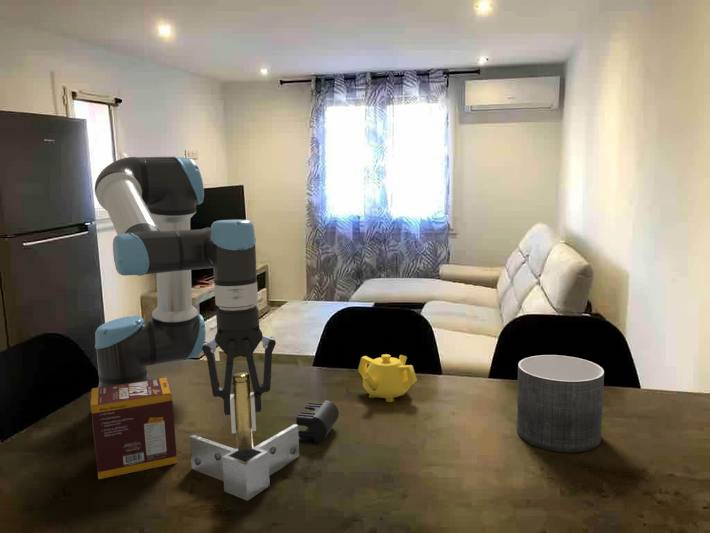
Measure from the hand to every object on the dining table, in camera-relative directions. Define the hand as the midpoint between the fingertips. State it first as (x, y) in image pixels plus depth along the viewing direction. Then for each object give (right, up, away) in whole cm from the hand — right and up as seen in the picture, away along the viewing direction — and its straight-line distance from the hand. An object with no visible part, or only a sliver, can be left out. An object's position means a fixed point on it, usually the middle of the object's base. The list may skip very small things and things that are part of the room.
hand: (244, 428), depth 105 cm
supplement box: (-25, -11, +14) cm, 31 cm away
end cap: (+12, -9, +24) cm, 28 cm away
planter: (+66, -8, +21) cm, 70 cm away
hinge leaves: (-1, -11, +10) cm, 15 cm away
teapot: (+29, -5, +47) cm, 55 cm away
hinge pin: (0, -4, 0) cm, 4 cm away
